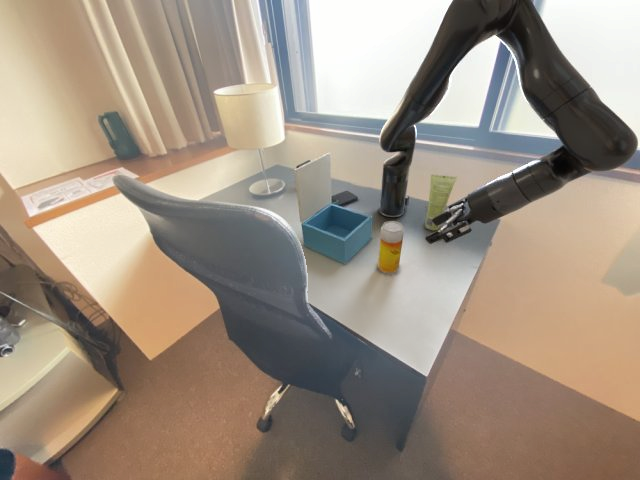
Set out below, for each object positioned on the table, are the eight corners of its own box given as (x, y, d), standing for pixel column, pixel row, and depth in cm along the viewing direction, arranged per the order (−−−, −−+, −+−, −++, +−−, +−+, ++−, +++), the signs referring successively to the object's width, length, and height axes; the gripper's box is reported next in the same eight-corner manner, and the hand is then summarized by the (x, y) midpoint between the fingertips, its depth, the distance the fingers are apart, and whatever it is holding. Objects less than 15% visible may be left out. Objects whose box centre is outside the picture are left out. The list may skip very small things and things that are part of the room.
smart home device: (308, 204, 113) (346, 189, 121) (308, 207, 114) (346, 193, 122) (319, 212, 107) (358, 196, 115) (319, 215, 108) (358, 200, 116)
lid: (330, 152, 86) (317, 150, 89) (296, 170, 76) (283, 166, 79) (331, 202, 97) (320, 198, 99) (301, 222, 87) (290, 218, 90)
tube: (434, 221, 99) (445, 170, 88) (444, 228, 96) (457, 176, 84) (421, 225, 98) (431, 174, 86) (430, 232, 94) (442, 180, 83)
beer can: (398, 275, 78) (405, 233, 69) (377, 273, 80) (380, 232, 71) (398, 262, 83) (404, 220, 74) (377, 260, 84) (381, 219, 75)
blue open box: (371, 238, 94) (372, 216, 88) (344, 264, 84) (344, 241, 79) (331, 224, 103) (330, 203, 97) (304, 245, 93) (301, 223, 88)
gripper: (489, 171, 61) (427, 206, 72) (485, 200, 51) (414, 235, 63) (508, 196, 62) (444, 227, 73) (508, 229, 52) (434, 259, 63)
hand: (430, 231), depth 68 cm, fingers open, 8 cm apart
